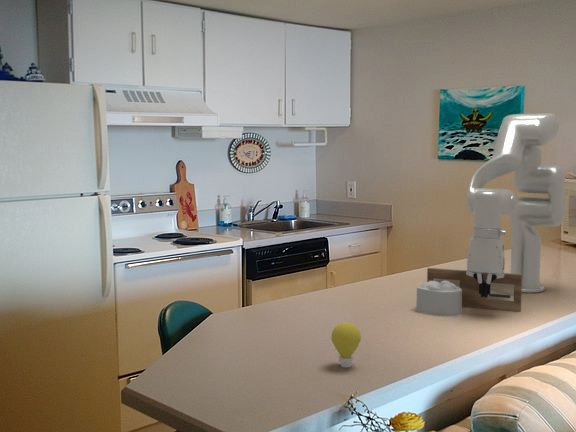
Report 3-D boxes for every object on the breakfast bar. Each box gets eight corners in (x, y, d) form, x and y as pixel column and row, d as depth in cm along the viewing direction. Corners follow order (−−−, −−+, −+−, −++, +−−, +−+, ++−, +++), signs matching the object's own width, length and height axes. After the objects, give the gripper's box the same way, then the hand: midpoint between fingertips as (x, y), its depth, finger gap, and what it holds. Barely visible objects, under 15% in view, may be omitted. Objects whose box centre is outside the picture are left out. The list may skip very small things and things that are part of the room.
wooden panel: (427, 302, 219) (428, 267, 218) (520, 310, 207) (521, 274, 206) (426, 303, 217) (427, 268, 216) (520, 311, 206) (521, 275, 205)
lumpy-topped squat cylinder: (429, 304, 216) (429, 277, 215) (468, 311, 208) (468, 282, 207) (412, 311, 208) (413, 282, 207) (452, 318, 199) (453, 288, 199)
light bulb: (329, 361, 161) (329, 319, 160) (357, 360, 161) (357, 318, 160) (333, 371, 154) (333, 327, 153) (363, 370, 155) (363, 326, 154)
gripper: (515, 233, 199) (513, 296, 201) (462, 231, 205) (460, 292, 207) (512, 236, 192) (509, 301, 194) (457, 233, 198) (455, 296, 200)
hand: (484, 296), depth 200 cm, fingers closed
